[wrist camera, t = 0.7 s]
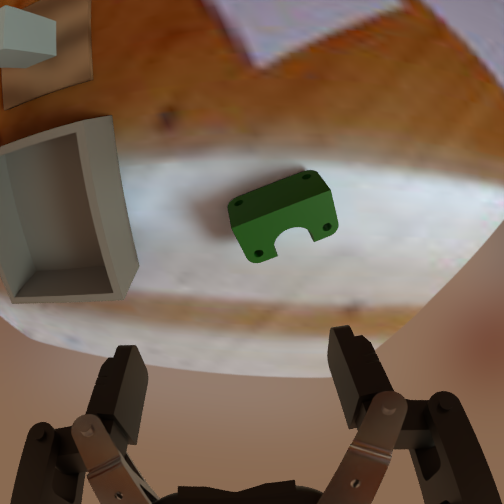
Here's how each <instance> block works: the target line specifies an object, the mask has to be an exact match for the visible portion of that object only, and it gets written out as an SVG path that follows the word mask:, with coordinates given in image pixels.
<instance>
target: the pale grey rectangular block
mask: <svg viewBox="0 0 504 504" xmlns="http://www.w3.org/2000/svg"><path fill="white" fill-rule="evenodd" d="M55 56H56V21H54V20H51V19H48V18H46V17H43V16H40V15H37V14H34V13H30V12H27V11H24V10H21V9H17V8H14V7H11V6H7V5H5V6H3V7H2V8H0V68H28V67H30V66H32V65H35V64H37V63H40V62H42V61H44V60H47V59H50V58H52V57H55Z"/></svg>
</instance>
